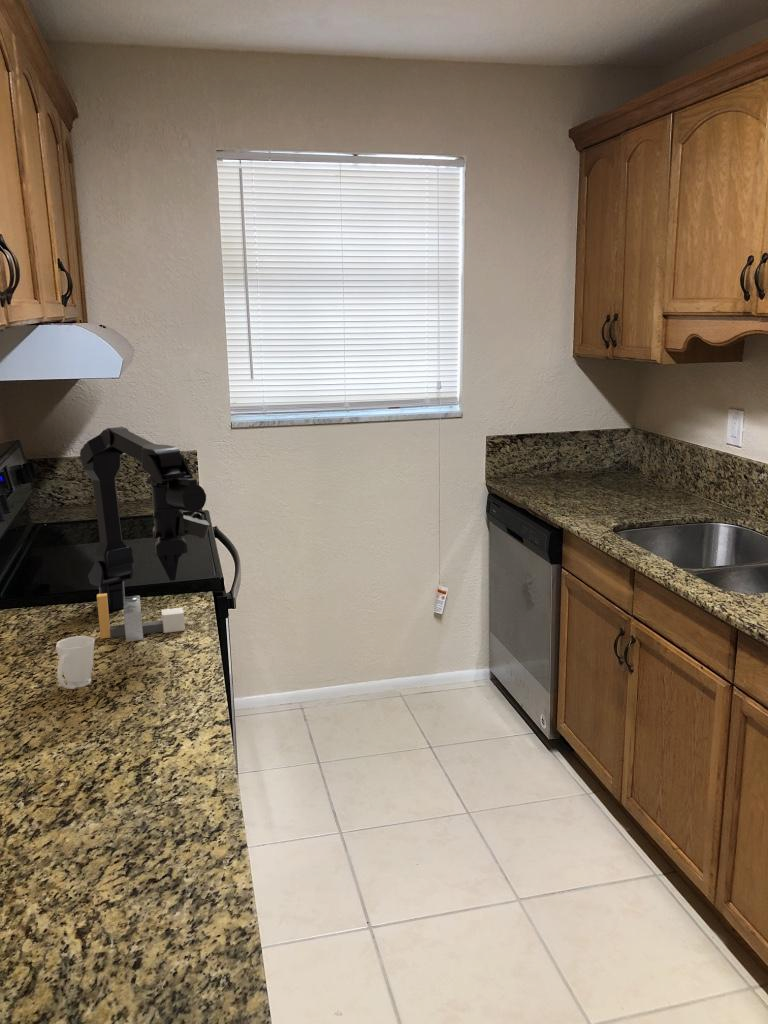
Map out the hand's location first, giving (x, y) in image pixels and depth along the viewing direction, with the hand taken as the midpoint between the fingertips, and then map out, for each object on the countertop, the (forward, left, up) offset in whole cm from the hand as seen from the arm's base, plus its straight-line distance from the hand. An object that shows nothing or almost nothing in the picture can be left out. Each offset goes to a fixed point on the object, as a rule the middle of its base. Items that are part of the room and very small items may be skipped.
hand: (171, 576), depth 178 cm
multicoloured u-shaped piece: (-2, -6, -12) cm, 14 cm away
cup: (+17, -27, -12) cm, 34 cm away
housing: (-5, -8, -12) cm, 15 cm away
